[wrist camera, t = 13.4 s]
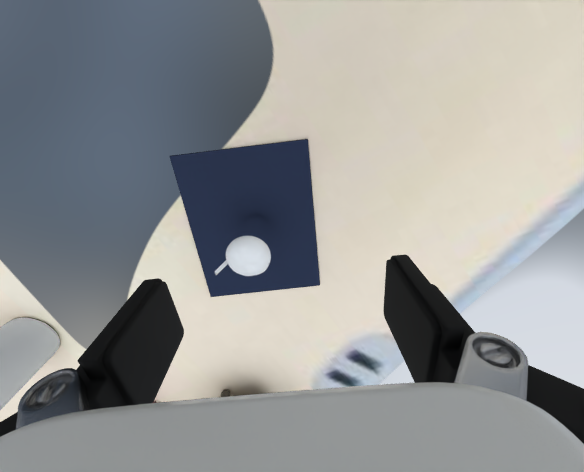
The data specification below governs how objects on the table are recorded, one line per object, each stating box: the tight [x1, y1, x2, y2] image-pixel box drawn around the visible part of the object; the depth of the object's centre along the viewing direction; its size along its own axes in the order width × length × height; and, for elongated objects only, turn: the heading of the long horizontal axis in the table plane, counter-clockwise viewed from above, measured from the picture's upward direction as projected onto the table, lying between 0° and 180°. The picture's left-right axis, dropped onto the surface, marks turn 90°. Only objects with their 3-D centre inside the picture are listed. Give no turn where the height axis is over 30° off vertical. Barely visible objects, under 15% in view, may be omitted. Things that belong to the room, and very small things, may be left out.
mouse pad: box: [170, 139, 320, 297], centre depth 35 cm, size 20×16×1 cm
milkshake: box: [215, 215, 271, 276], centre depth 30 cm, size 5×5×10 cm
